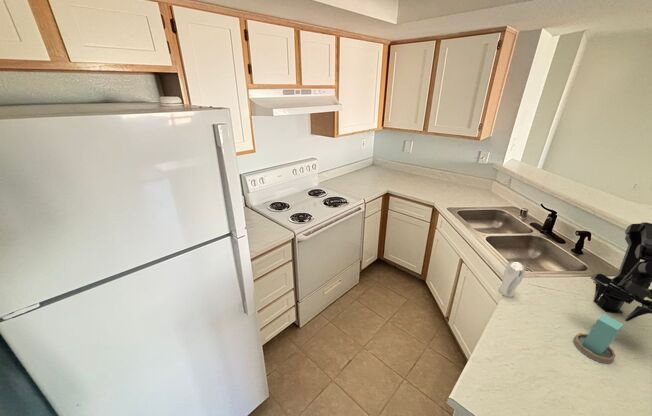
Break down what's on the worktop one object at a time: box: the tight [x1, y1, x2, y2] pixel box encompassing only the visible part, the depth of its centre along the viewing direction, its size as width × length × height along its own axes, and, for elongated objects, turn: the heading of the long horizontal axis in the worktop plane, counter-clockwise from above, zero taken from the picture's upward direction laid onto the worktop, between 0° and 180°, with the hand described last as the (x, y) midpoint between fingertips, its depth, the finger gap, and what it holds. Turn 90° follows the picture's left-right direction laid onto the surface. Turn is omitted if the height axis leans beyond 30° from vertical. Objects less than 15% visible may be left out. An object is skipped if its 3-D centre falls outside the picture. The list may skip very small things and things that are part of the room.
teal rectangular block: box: [582, 313, 624, 356], centre depth 91 cm, size 5×5×13 cm
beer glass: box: [498, 261, 527, 298], centre depth 116 cm, size 7×7×15 cm
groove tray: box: [572, 332, 616, 365], centre depth 93 cm, size 11×11×2 cm
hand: (609, 311), depth 95 cm, fingers open, 9 cm apart
